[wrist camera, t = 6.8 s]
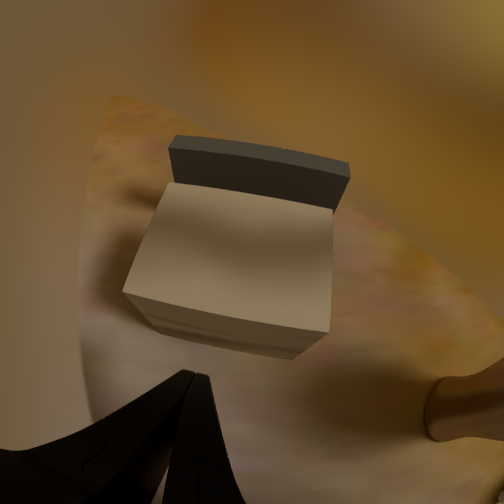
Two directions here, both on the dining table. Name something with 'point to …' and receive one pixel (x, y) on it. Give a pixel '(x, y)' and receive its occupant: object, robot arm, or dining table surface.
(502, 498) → the sitting furry creature
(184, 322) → the maple block
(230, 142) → the backstop board
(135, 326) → the dining table surface
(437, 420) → the beer glass
